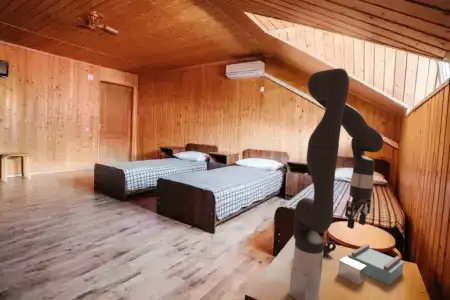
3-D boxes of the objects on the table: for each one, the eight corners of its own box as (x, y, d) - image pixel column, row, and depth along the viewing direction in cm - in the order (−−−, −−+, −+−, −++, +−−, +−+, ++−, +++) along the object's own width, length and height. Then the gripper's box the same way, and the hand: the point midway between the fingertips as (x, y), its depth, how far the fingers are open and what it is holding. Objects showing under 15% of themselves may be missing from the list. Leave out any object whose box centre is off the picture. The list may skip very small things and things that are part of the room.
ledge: (389, 285, 97) (391, 268, 97) (347, 265, 110) (348, 251, 109) (402, 273, 106) (404, 258, 106) (362, 256, 119) (363, 242, 118)
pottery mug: (309, 256, 117) (306, 237, 121) (311, 256, 125) (308, 238, 129) (337, 255, 113) (334, 235, 117) (338, 256, 121) (334, 237, 124)
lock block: (358, 284, 97) (360, 269, 96) (337, 274, 103) (339, 260, 103) (364, 280, 100) (366, 265, 99) (344, 270, 106) (345, 256, 106)
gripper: (361, 189, 92) (356, 233, 93) (380, 186, 100) (375, 226, 102) (341, 184, 98) (336, 225, 100) (361, 181, 106) (356, 220, 108)
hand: (356, 226), depth 101 cm, fingers open, 8 cm apart
